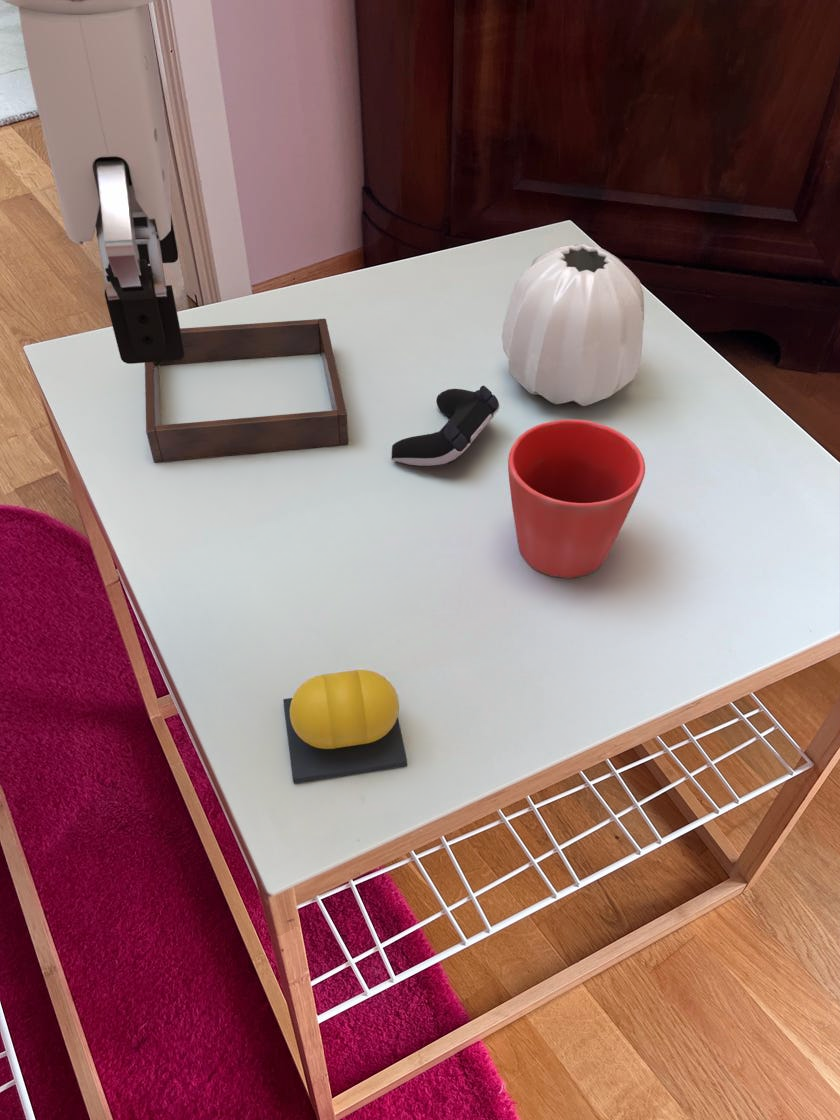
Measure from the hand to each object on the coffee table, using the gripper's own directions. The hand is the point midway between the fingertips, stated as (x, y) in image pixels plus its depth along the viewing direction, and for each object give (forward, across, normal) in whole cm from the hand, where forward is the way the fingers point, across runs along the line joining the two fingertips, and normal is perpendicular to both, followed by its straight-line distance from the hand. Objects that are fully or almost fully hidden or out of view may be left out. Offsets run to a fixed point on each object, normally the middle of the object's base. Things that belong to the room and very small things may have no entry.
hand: (152, 307), depth 54 cm
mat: (+28, +11, +8) cm, 31 cm away
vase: (+28, -28, +36) cm, 54 cm away
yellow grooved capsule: (+28, +11, +8) cm, 31 cm away
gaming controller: (+28, -20, +22) cm, 41 cm away
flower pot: (+28, -5, +29) cm, 41 cm away
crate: (+28, -29, +4) cm, 41 cm away
